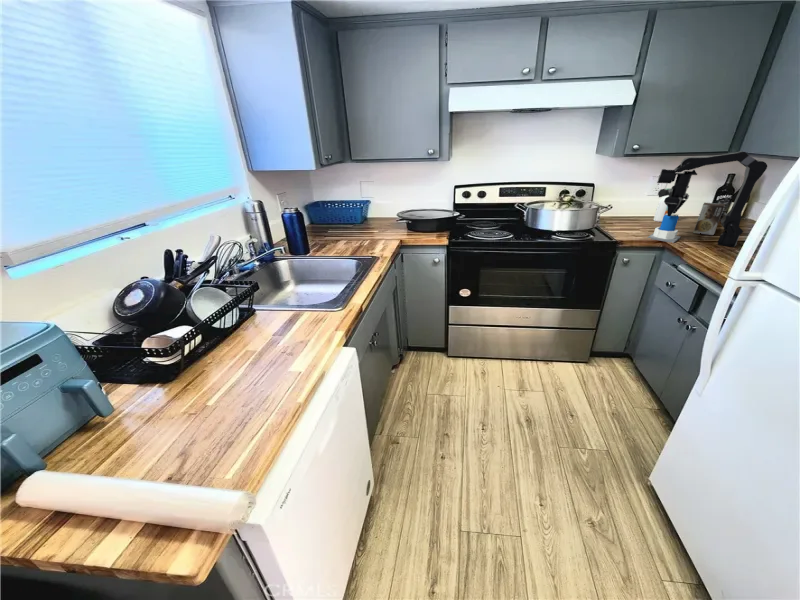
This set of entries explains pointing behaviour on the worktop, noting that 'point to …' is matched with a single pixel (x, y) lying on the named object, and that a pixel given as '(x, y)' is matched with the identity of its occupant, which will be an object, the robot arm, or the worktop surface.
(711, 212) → the coffee box
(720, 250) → the worktop surface
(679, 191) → the robot arm
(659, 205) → the milk bottle
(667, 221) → the beverage can
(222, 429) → the worktop surface
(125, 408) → the worktop surface
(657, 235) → the socket
